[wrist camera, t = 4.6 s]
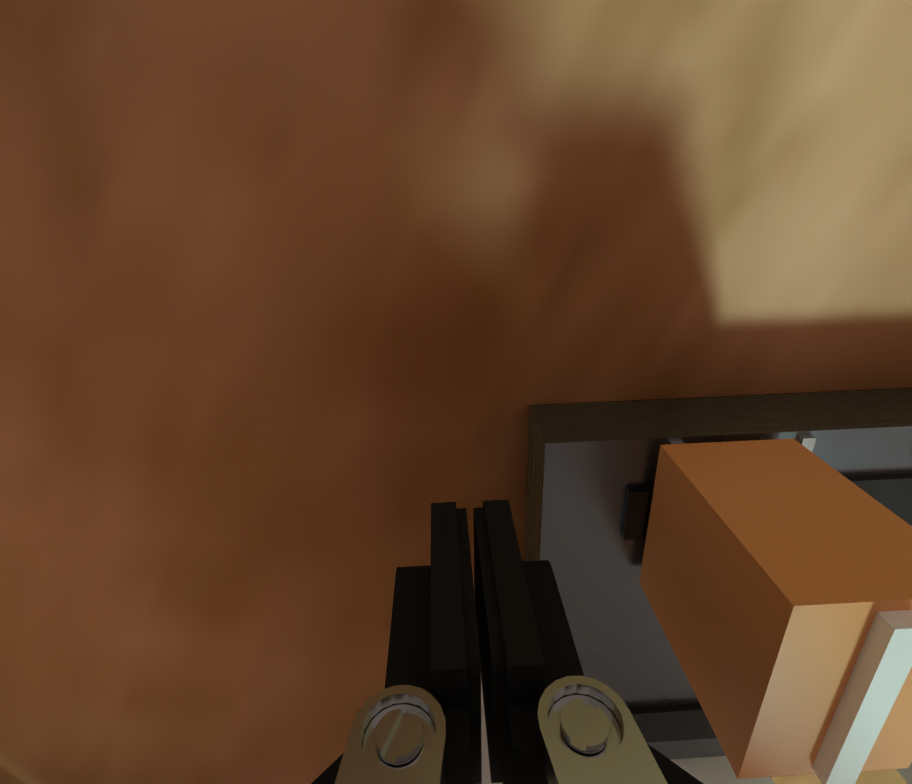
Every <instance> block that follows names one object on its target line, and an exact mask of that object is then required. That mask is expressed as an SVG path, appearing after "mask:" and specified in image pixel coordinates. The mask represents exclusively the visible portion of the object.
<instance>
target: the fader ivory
mask: <svg viewBox="0 0 912 784" xmlns="http://www.w3.org/2000/svg"><path fill="white" fill-rule="evenodd" d="M897 770H898V772H899V773H900V774H901V776H902V777H903V778H904V780H905V781H906V782H907V783H908V784H912V762H911V764H910V766H909V768H900V769H897Z"/></svg>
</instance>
